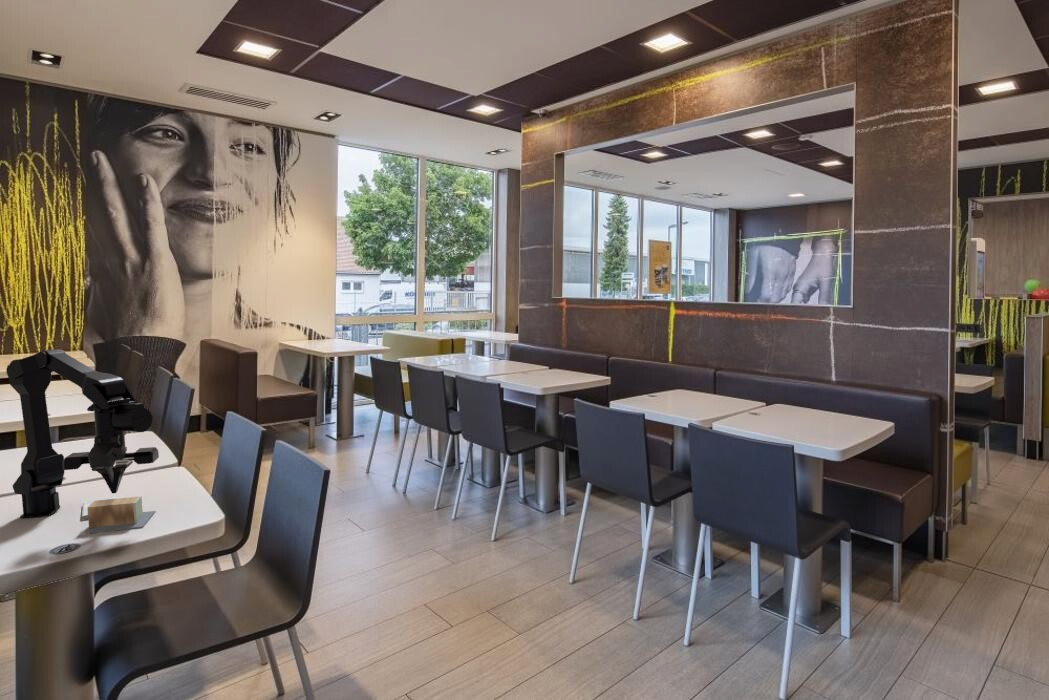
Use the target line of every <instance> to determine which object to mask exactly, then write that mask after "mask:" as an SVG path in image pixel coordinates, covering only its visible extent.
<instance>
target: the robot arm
mask: <svg viewBox="0 0 1049 700" xmlns="http://www.w3.org/2000/svg"><path fill="white" fill-rule="evenodd" d="M5 372H6V375H7V377H8V381H9V385H10V387H11V388H13V390H15V392H17V394H18V395H19V398H20V406H21V411H22V412H21V414H22V421H23V427H24V428H23V429H24V435H25V445H26V450H27V451H26V454H25V456H24V457H23V459H22V461H21V463H20V475H19V476H18V477H17V479H16V480H15V482H14V483H13V484H12V489H13V493H14V494H16V495H21V499H22V501H21V502H22V503H21V504H22V505H21V506H22V511H23V512H22V514H21V515H20V517H19V518H20V519H23V518H24V519H25V518H26V519H27V518H34V517H35V518H36V517H45V516H51V515H52V514H53V513H55V512H56V511H57V510H59V509H60V508H61V505H60V496H59V492H58V491H56V490H57V488H56V487H58V486H62V485H63V481H64V480H63V479H64V477H65V471H68V470H69V471H70V470H78V469H79V468H81V466H83V465H88V464H89V467H90V469H91V471H92V472H97V473H98V474H99V475H101V477H102V478H103V479H104V481H105V483H106V485H107V487H108V489H109V490H110V492H111V494H117V492H118V490H119V487H120V484H121V482H122V480H123V475H124V474H125V472H126V470H127V468H129V466H131V465H133V462H134V463H135V464H137V465H146V464H147V465H148V464H153V463H154V462H156V461H157V460H158V459H159V456H160V455H159V449H158V448H157V447H156V446H150V447H149V446H148V447H140V448H138V449H137V450H136V451H133V452H127V450H128V447H127V446H126V437H125V435H126V436H127V433H126V432H131V433H144V432H146V431H148V430H149V429H150V427H151V425H152V424H153V415H152V413H151V411H150V410H149V409H148V408H146V407H145V404H144V402H138V401H137V399H136V398H135V395H134V394H133V393H132V391H131V390H130V388H129V386H128V385H127V384H126V381H125V379H123V378H122V377H121V376H118V375H115V374H113V373H107V372H101V371H97V370H95V369H93V368H92V367H90V366H88V365H86V364H84V363H83V362H81V361H79V360H77V359H76V358H74V357H72V356H70V355H69V354H68V353H66V351H65V350H63V349H59V348H58V349H57V348H56V349H47V350H45V349H44V350H41V351H38V352H37V353H35V354H32V355H29V356H26V357H24V358H17V359H13V360H11V361H10V362H9V364H8V365H7V366H6V371H5ZM53 372H54V373H55V374H58V375H59V376H61V377H63V378H64V379H66V380H67V381H70V382H71V383H73V384H74V385H77V386H78V387H79V388H80V389H81V393H82V395H83V396H84V397H86V398H87V399H88V400H89V402H91V403H92V404H91V405H90V406H88V408H87V409H86V410H87V412H93V413H94V415H93V416H94V427H95V428H94V429H95V436H94V438H93V439H94V440H93V442H94V443H93V446H92V447H91V449H90V451H81V452H80V451H79V452H72V453H70V454H69V455H68V456H65V457H64V454H63V453H58V452H57V451H56V450H55V449H54V448H53V444H52V436H51V427H50V421H49V420H50V419H49V413H48V404H47V399H46V398H47V397H46V391H47V389H48V388H49V386H50V384H51V382H52V373H53Z"/></svg>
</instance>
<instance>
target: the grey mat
mask: <svg viewBox="0 0 1049 700" xmlns="http://www.w3.org/2000/svg"><path fill="white" fill-rule="evenodd" d="M155 513H156V510H152V511H150V510H149V511H143V516H142V517H141V519H140V520H139V521H138V522H137V523H131V524H121V525H112V526H102V527H93V528H91V530H90V531H89V534H95V533H105V532H112V531H113V532H115V531H124V530H132V529H133V530H134V529H143V528H144V527H145V526H146V525H147V523H148V522H149V521H150V520H151V518H152V517H153V516H154V515H155Z"/></svg>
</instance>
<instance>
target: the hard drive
mask: <svg viewBox="0 0 1049 700" xmlns="http://www.w3.org/2000/svg"><path fill="white" fill-rule="evenodd" d="M118 498H120V497H119V496H117V497H110V498H104V499H103V498H102V499H101V500H107V499H118ZM97 500H98V499H97ZM97 500H91V501H85V502H83V504H82V510H81V521H86V520H88V508H87V507H88V506H90V505H91V504H92V503H93V502H94V501H97Z"/></svg>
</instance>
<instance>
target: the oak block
mask: <svg viewBox="0 0 1049 700" xmlns="http://www.w3.org/2000/svg"><path fill="white" fill-rule="evenodd" d="M142 498H143V497H142V496H141V495H139V496H131V497H121V498H118V499H108V498H106V499H107V500H102V499H97V501H96V500H93V501H94V502H93V503H92V504H91V505H90V506H88V507H87V508H88V519H87V520H88V528H89V529H93V528H94V527H102V526H112V525H121V524H131V523H137V522H138V521H139V520H140V519H141V517H142V516H143V512H144V511H143V499H142Z"/></svg>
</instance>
